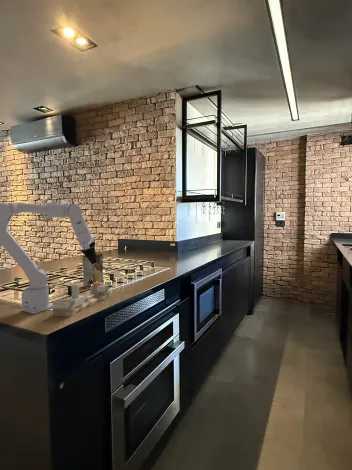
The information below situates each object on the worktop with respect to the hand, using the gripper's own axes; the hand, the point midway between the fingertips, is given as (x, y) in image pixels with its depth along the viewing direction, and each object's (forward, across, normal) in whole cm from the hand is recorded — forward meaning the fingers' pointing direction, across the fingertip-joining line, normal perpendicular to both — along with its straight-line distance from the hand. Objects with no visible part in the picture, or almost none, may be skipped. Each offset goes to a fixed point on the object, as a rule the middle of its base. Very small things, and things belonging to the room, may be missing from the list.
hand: (94, 261), depth 126 cm
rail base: (+15, -5, +10) cm, 19 cm away
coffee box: (+18, +28, +8) cm, 34 cm away
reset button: (+14, +6, +4) cm, 16 cm away
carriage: (+12, -9, +12) cm, 19 cm away
